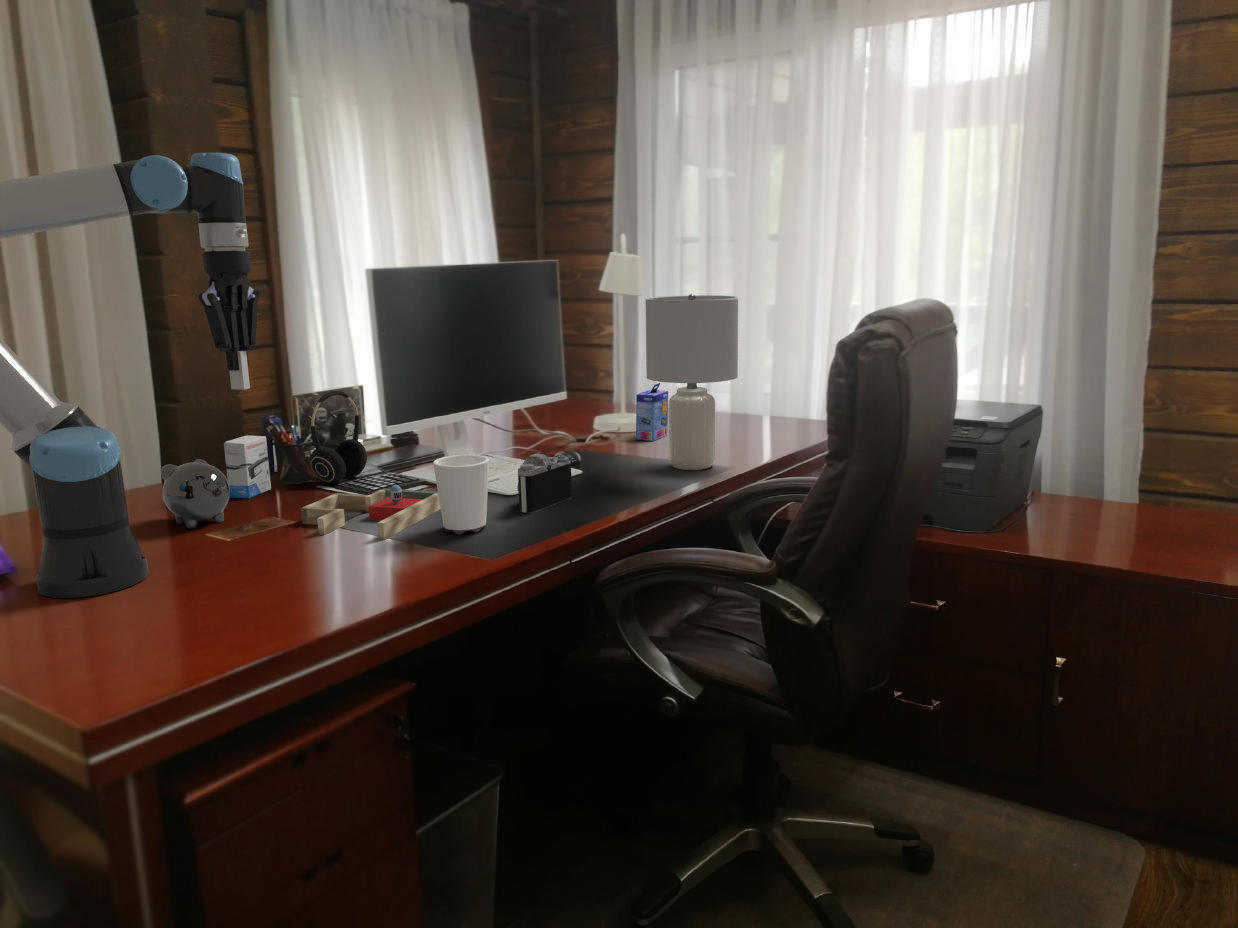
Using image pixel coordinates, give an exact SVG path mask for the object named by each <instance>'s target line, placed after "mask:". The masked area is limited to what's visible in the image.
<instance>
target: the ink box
mask: <svg viewBox="0 0 1238 928" xmlns="http://www.w3.org/2000/svg"><path fill="white" fill-rule="evenodd" d="M267 444H268V443H267V437H266V436H265V435H263V436H261V435H243V436H241V437H237V438H234V439H231V440H230V439H229V440H226V441H224V443H223V449H224V450H223V451H224V456H225V457H224V458H225V467H226V478H227V480H228V482H229V486H230V497H229V499H231V498H232V499H251V498H254V497H256V496H258V495H261V494H262V493H265V492H267V491H270V490H271V489H272V484H271V474H270V466H269V465H270V464H269V455H268V445H267Z"/></svg>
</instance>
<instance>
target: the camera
mask: <svg viewBox="0 0 1238 928" xmlns="http://www.w3.org/2000/svg"><path fill="white" fill-rule="evenodd" d="M517 478H518V479H517V481H518V483H517V488H516V489H517V492H518V501H519V502H518V504H519V511H520V512H521V513H524V514H525V513H526V514H532V513H536V512H538V511H542V510H544V509H547V508H549V507H553V506H554V505H557V504H559V503H562V502H564V501H568V500H570V499H573V483H572V479H573V478H572V461H571V460H570V458H569V457H568V456H565V455H564V454H559V455H557V456H556V457H554V456H552V457H551V456H549V457H548V456H547V455H545V454H541V453H538V452H537V453H535V454H531V455H528V456H527V458H526V459H524V462H523V463H522V464H520V466H519V468H517Z"/></svg>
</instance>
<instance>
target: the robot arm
mask: <svg viewBox="0 0 1238 928" xmlns="http://www.w3.org/2000/svg"><path fill="white" fill-rule="evenodd" d="M189 164H190V165H189ZM189 164H187V165H179V164H178V163H177V162H176V161H174V160H173V159H171V158H169V157H167V156H164V155H163V156H162V155H159V154H156V155H155V154H154V155H147V156H146V155H145V156H143V157H142V158H140V159H134V160H129V161H122V162H118V163H109V164H103V165H95V166H90V167H85V168H83V167H82V168H77V169H75V168H74V169H69V170H63V171H56V172H51V173H43V174H37V175H31V176H24V177H19V178H11V179H4V180H0V240H1V239H7V238H13V237H19V236H24V235H29V234H30V235H31V234H36V233H41V232H46V231H52V230H57V229H62V228H70V227H75V226H80V225H84V224H85V225H86V224H90V223H95V222H97V223H98V222H101V221H106V220H107V221H108V220H113V219H114V220H115V219H118V218H124V217H129V216H138V215H143V214H197V221H198V233H199V242H200V244H199V245H200V247H201V248H202V249H204V251H202V253H201V258H202V265H203V266H202V267H203V272H204V273H205V274H206V275H208V278H209V279H208V284H207V287H208V289H206V291H205V292H200V293H199V294H198V299H199V301H200V303H201V305H202V306H203V308H204V312H205V315H206V318H207V322H208V325H209V330H210V332H211V335H212V339H213V340H212V341H213V342H214V343H213V344H214V346H215V348H216V349H218V350H219V351H220V352H223V353H224V352H225V355H226V357H225V358H226V365H227V370H228V371H229V379H230V380H229V381H230V388H231V389H230V390H248V389H251V387H250V386H251V384H250V383H251V382H250V375H249V374H250V373H249V367H250V363H249V354H248V353H249V352H248V351H253V349H254V346H256V343H257V325H258V324H257V323H258V310H259V309H258V305H259V304H258V303H259V300H260V298H261V291H260V290H259V289H253V287H251V283H250V280H249V277H248V274H249V273H251V272H252V264H251V263H252V261H251V253H250V252H249V250H246V248H248V247H249V246H250V245H249V236H248V229H247V228H248V227H247V219H246V218H247V216H246V204H245V195H244V193H245V192H244V181H243V177H242V172H241V165H240V160H239V159H238V157H236V156H235V155H234V154H230V153H226V152H225V153H224V152H198V153H193V154H192V155H191V157H190V163H189ZM0 424H1V426H3V427H4V429H6V431H8V433H9V434H11V436H12V444H11V450H12V452H14V453H15V455H17V456H18V458H20V459H21V460H22V462H24V463H25V464H26V466H27V467H28V468H29V469H30V470H31V471H32V474H33V475H32V476H33V482H34V487H35V494H36V499H37V505H38V510H39V511H38V513H39V517H40V518H39V519H40V524H41V531H42V537H43V544H42V549H41V555H40V559H39V560H40V561H39V569H38V571H37V572H36V576H35V577H36V578H35V579H36V584H37V585H36V586H37V591H38V593H39V594H40V595H41V596H43V597H48V598H53V599H54V598H55V599H76V598H86V597H95V596H98V595H105V594H109V593H113V592H116V591H120V590H123V589H126V588H129V587H131V586H134V585H137V584H139V583H140V582H142V581H143V580H145V579H146V578H147V577H148V576H149V573H150V572H149V565H148V560H147V557H146V556H145V554H143V552H142V550H141V547H140V544H139V543H138V541H137V538H136V537H135V535H134V533H133V531H132V529H131V525H130V519H129V511H128V504H127V498H126V497H127V496H126V492H125V490H126V489H125V484H124V475H123V470H122V469H123V468H122V462H121V456H122V452H121V447H120V445H119V443H118V439H117V436H116V435H115V433H114V432H112V431H111V430H109V429H106V428H103V427H100V426H97V424H96V423H94V421H93V420H92V419H91V417H90V416H88V415H87V414H86V413H85V411H84V410H83V409H82V408H81V407H80V406H79V405H78V404H77V403H71V402H64V401H62V400H60V399H59V398H58V397H57V396H56V395H55V394H54V393H53V392H52V391H51V390H50V389H49V388H48V387H47V386H46V384H44V383H43V381H42V380H41V379H40V378H39V377H38V376H37V375H36V373H34V372H33V371H32V370H31V369H30V368H29V367H28V365H27V364H26V363H25V362H24V361H23V360H22V359H21V358H20V357H19V356H18V355H17V354H16V353H15V351H14V350H13V349H12V348H11V347H10V346H9V345H8V344H7V343H6V342H5V341H4V340H3V339H2V338H1V337H0Z"/></svg>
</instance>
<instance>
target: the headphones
mask: <svg viewBox="0 0 1238 928" xmlns="http://www.w3.org/2000/svg"><path fill="white" fill-rule="evenodd" d="M334 396H341V397H344V398H345V399H348V401H349V402H350V403H351V405H352V408H353V410H354V413H355V414H354V425H353V426H354V429H353V434H352V438H350V439H345V440H343V441H341V442H340V443H339V444H337V446H336V447H335V449H333V448H330V447H328V446H321V443H320V441H319V438H318V434H317V430H316V425H315V418H316V414H317V411H318V410H319V409H318V408H319V407H320V405H321V404H323V402H324V401H326V400H327V399H329V398H330V397H334ZM310 430H311V436H312V437H311V438H312V441H313V444H314V447H315V449H314V450H312V452H311V454H310V456H309V462H310V467H311V468H310V469H311V470H312V472H313V474H314V475H315V476H316V477H317V478H319V480H321V481H323V482H326V483H329V484H336V483H339V482H341V481H342V480H343V479H344V478H354V477H357V476H358V475H360V474H361V473H362V472H363V471H364V469H365V467H366V465H367V460H368V455H367V450H366V447H365V446H364V445H363V443H362V442H360V441H359V434H360V415H359V411H358V407H357V405H356V404H355V402H354V401H353V400H352V398H351V397H350V395H348V393H346V392H344V391H341V390H330V391H328V392H325V393H324V394H323V395H322V396H321V397H319V399H318V400H317V404H316V405H315V407H314V409H313V411H312V415H311V422H310Z"/></svg>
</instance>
